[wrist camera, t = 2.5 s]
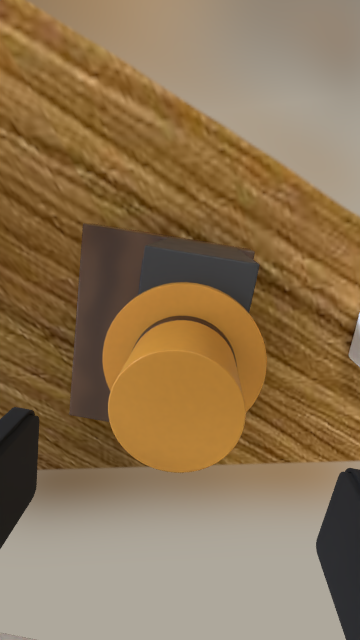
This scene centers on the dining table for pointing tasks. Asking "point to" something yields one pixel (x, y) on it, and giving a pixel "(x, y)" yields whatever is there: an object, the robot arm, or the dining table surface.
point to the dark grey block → (199, 267)
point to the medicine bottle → (355, 345)
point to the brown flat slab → (105, 306)
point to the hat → (182, 375)
